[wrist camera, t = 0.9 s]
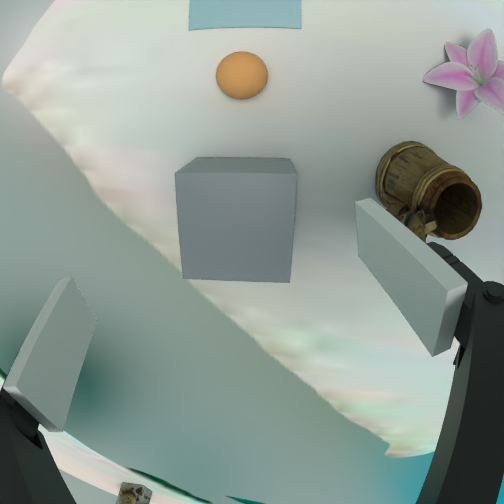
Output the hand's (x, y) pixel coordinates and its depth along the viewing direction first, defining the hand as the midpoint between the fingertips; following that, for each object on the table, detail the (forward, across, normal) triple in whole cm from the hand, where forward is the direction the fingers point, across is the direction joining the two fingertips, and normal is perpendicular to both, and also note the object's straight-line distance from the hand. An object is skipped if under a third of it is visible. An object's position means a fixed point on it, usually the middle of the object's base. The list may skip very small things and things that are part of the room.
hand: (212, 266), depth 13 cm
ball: (+21, -5, -8) cm, 23 cm away
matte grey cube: (+22, -2, +6) cm, 23 cm away
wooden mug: (+20, -20, +7) cm, 29 cm away
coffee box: (+23, +55, +90) cm, 108 cm away
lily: (+19, -31, -6) cm, 37 cm away
